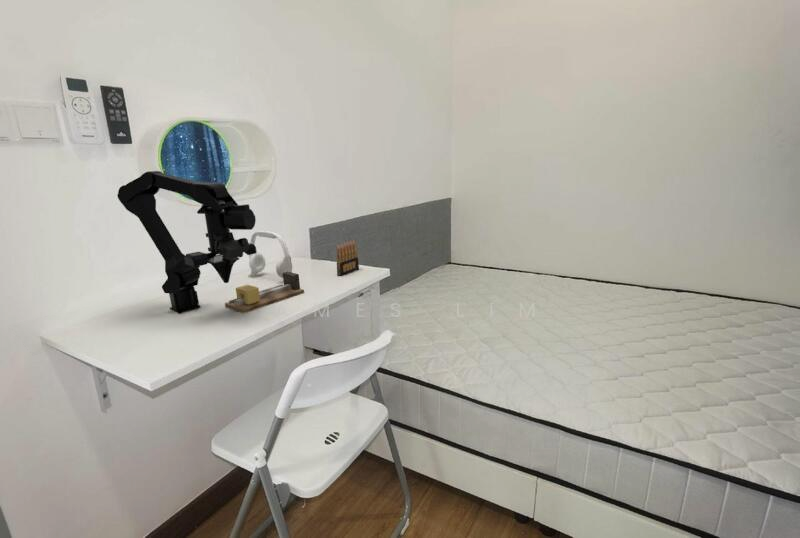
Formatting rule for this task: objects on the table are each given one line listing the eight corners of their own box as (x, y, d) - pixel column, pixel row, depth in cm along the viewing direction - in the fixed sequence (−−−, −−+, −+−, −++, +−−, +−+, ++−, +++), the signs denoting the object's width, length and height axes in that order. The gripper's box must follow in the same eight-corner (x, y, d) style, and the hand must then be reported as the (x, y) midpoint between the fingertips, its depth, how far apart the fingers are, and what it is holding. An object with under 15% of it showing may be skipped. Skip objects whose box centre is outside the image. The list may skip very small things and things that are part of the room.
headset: (297, 279, 151) (292, 231, 147) (282, 284, 146) (276, 235, 141) (262, 272, 162) (256, 227, 157) (246, 277, 157) (240, 230, 152)
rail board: (243, 313, 120) (240, 293, 118) (225, 306, 126) (222, 287, 124) (304, 292, 136) (302, 275, 135) (285, 287, 142) (283, 270, 141)
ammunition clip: (355, 268, 163) (353, 238, 160) (359, 269, 162) (357, 239, 158) (337, 275, 154) (334, 244, 151) (340, 276, 153) (338, 244, 150)
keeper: (248, 304, 123) (246, 291, 122) (237, 300, 127) (235, 287, 126) (260, 300, 126) (258, 287, 125) (249, 297, 130) (247, 284, 129)
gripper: (199, 238, 104) (208, 296, 108) (264, 226, 118) (270, 279, 122) (179, 233, 111) (188, 289, 115) (242, 223, 125) (249, 273, 129)
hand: (226, 282), depth 120 cm, fingers closed
